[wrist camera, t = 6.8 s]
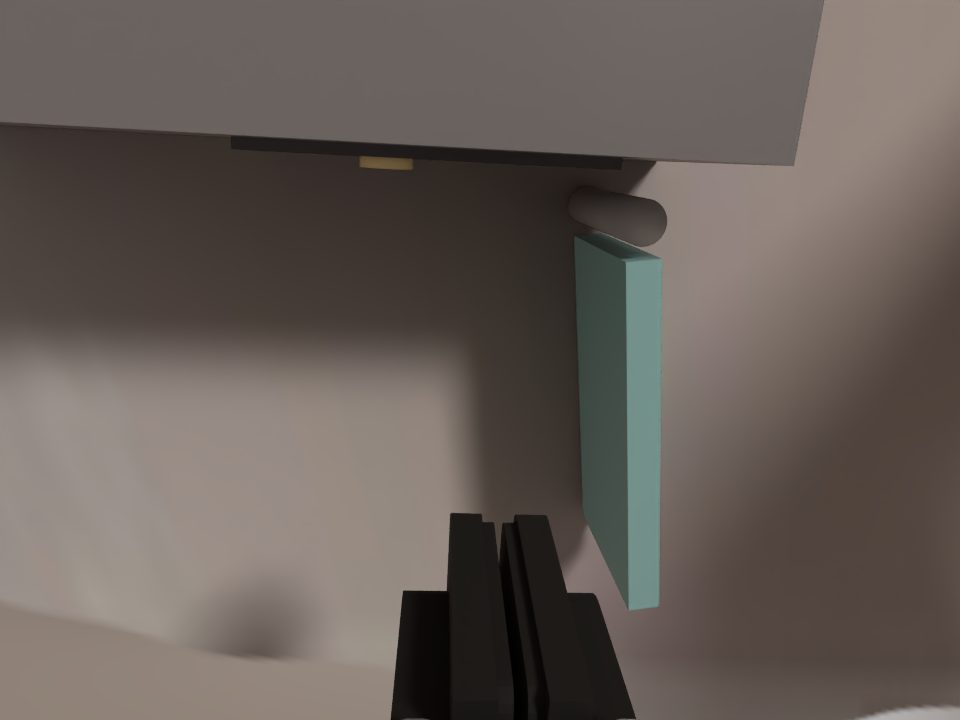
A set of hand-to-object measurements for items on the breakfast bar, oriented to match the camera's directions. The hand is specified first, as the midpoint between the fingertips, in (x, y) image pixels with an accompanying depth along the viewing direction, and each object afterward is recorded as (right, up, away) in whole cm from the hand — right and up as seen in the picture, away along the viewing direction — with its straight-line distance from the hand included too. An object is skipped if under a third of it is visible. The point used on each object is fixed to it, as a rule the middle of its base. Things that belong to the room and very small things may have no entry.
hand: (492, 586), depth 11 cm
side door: (+3, +4, +9) cm, 10 cm away
